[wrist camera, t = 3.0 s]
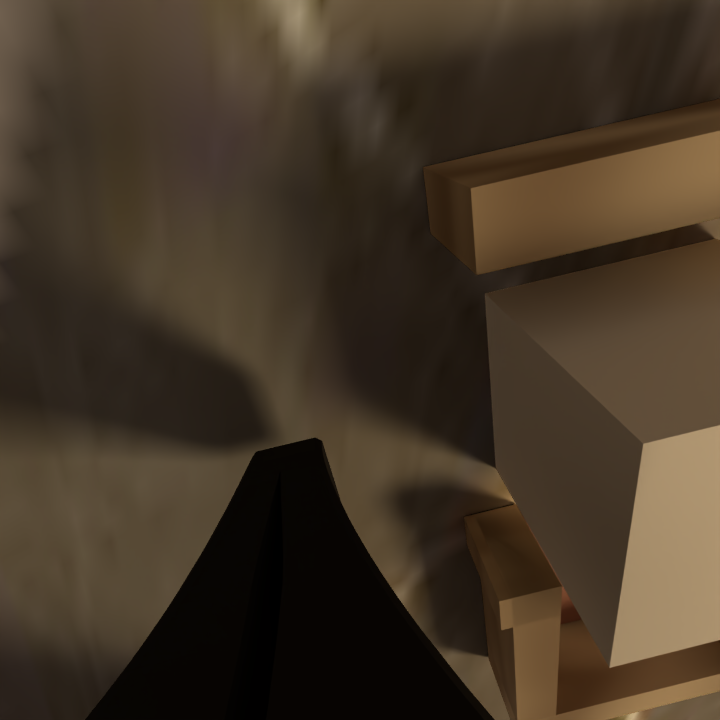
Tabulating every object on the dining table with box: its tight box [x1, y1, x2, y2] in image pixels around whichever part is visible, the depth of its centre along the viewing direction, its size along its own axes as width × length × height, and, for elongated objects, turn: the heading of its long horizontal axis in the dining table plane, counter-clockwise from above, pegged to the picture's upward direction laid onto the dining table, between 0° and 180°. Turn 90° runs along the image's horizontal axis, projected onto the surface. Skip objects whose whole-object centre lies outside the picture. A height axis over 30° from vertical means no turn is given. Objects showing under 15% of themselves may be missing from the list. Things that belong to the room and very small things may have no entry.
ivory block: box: [485, 239, 720, 668], centre depth 9 cm, size 5×5×5 cm
